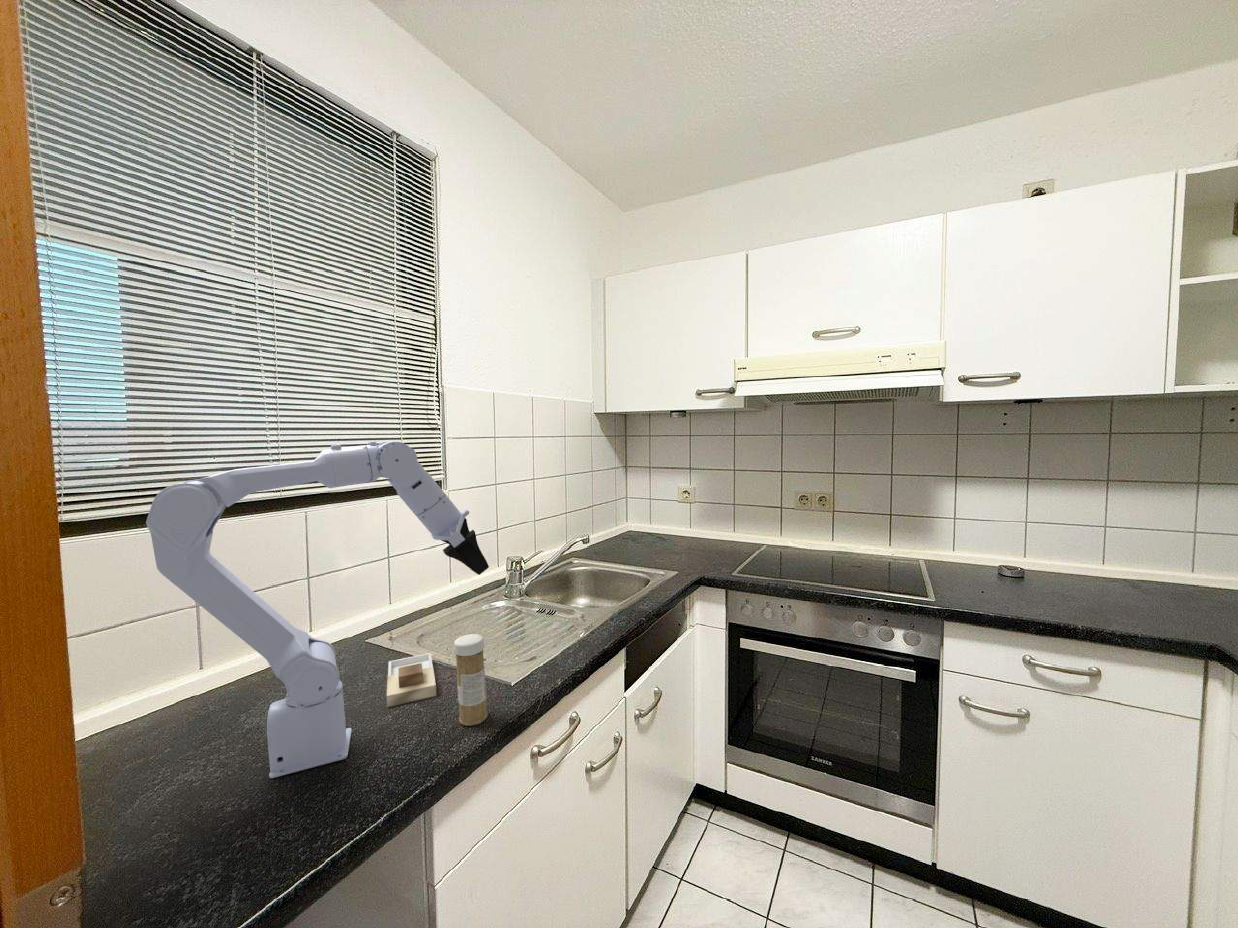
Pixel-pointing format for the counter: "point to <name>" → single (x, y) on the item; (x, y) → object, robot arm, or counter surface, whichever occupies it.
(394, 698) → the birch board
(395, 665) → the box
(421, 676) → the walnut block
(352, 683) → the counter surface
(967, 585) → the counter surface
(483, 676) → the sprinkles bottle
